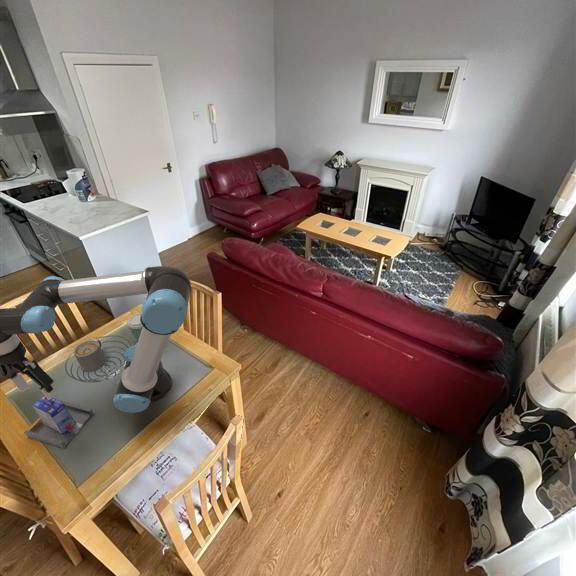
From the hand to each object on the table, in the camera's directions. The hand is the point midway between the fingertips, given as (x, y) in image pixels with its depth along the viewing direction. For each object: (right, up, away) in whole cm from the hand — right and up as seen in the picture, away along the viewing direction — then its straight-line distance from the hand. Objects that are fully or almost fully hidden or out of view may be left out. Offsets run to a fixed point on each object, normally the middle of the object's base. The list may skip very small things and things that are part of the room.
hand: (38, 392), depth 103 cm
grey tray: (0, -16, +11) cm, 20 cm away
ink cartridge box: (0, -16, +11) cm, 19 cm away
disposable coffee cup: (+14, +9, +49) cm, 51 cm away
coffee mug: (-4, +2, +38) cm, 38 cm away
